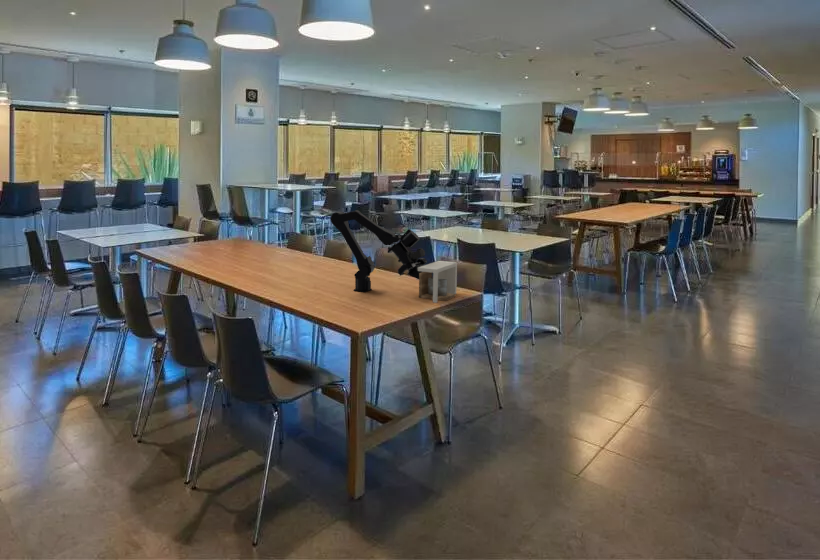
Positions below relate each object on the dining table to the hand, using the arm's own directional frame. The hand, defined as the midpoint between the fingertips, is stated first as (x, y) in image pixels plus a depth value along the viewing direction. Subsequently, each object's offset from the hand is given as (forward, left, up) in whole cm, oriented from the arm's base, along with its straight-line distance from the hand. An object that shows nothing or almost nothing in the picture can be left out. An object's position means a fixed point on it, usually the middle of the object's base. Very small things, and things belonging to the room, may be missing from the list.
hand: (424, 280), depth 270 cm
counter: (+7, 0, -7) cm, 10 cm away
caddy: (+7, 0, -7) cm, 10 cm away
